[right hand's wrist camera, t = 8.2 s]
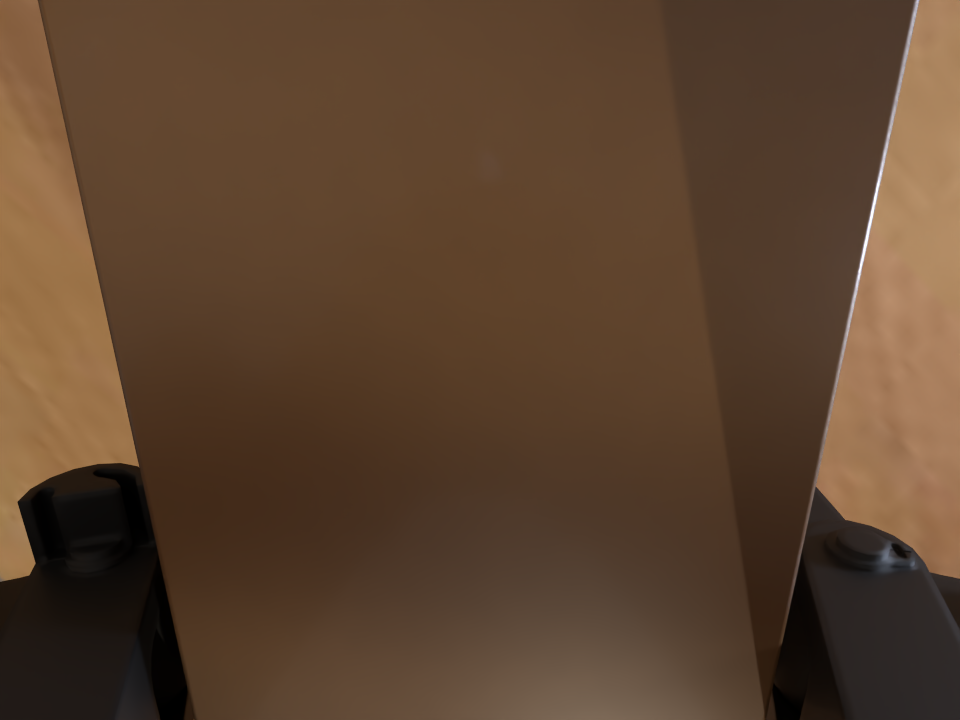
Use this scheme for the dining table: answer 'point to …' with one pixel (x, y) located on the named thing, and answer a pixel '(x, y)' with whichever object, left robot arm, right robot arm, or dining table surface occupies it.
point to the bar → (479, 334)
